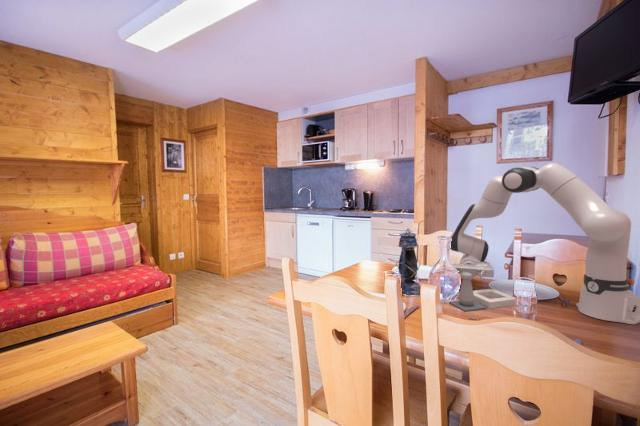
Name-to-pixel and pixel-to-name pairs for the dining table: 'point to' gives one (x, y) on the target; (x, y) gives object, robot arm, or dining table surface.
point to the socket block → (499, 300)
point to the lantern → (408, 264)
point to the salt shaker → (466, 290)
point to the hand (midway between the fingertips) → (468, 274)
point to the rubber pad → (467, 308)
